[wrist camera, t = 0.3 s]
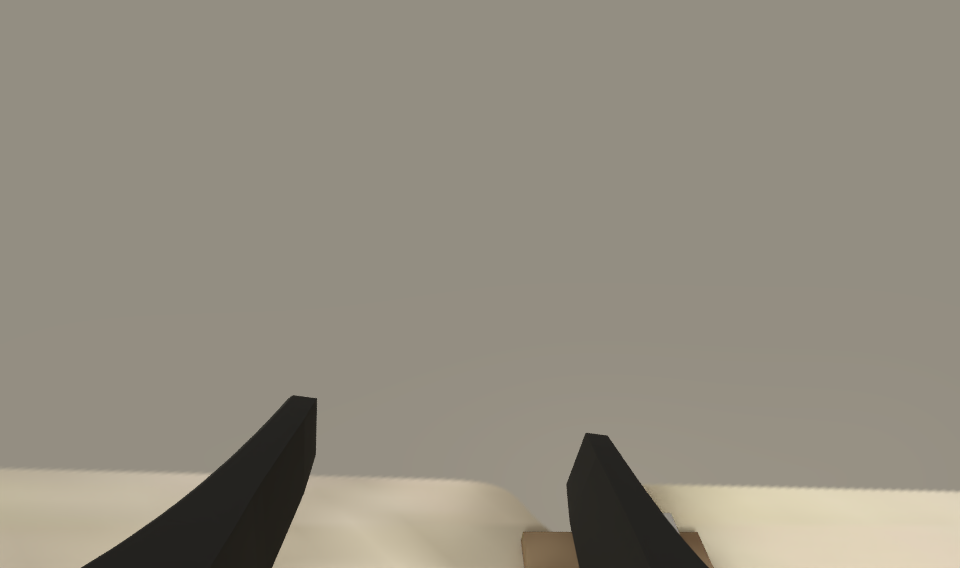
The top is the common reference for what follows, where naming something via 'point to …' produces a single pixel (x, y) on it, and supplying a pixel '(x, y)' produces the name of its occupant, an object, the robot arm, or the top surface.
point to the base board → (555, 553)
